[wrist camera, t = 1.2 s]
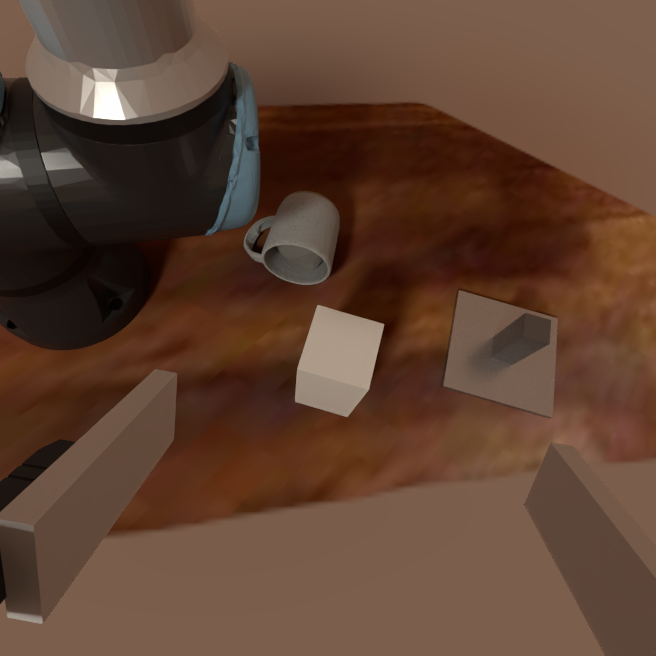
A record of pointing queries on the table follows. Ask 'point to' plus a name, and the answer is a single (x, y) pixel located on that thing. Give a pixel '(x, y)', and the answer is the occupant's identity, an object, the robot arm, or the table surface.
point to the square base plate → (502, 354)
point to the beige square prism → (337, 361)
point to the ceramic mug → (298, 238)
